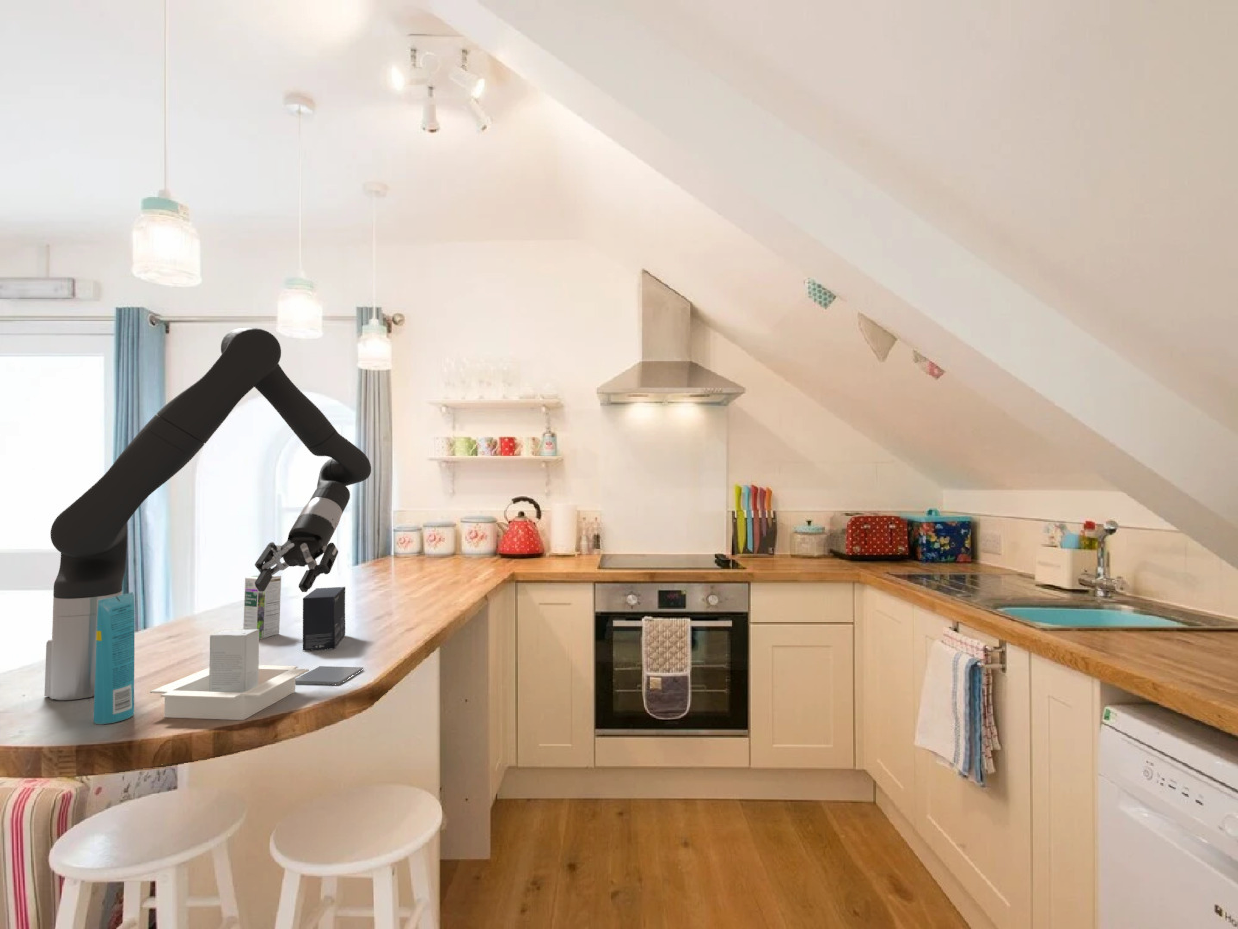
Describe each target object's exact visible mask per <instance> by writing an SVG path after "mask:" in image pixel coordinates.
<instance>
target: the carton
mask: <svg viewBox="0 0 1238 929" xmlns="http://www.w3.org/2000/svg"><path fill="white" fill-rule="evenodd" d="M209 669H210V667H207V668H205V669H203V670H200V671H197V672H195V673H192V674H190V675H187V676H185V677H182V678H180V679H177V680H175V681H172V682H170V683H166V684H164V685H162V686H159V687H158V688H157V687H156V688H154V689H152V690H150V692H149V693H150V694H160V698H164V708H163V709H164V711H163V712H164V716H163V717H164V718H175V719H179V718H180V719H204V720H205V719H206V720H208V719H209V720H230V721H231V720H232V721H233V720H235V721H236V720H237V721H245V720H246V719H248V718H251V716H253V715H256V714H257V713H258V712H260V711H262V710H264V709H266V708H268V707H269V706H272V705H273V704H276V703H277V702H279V701H281V700H282V699H284V698H286V697H288V696H289V695H292V694H293V693H295V692H296V684H295V679H296V678H298V677H300V676H302V675H304V674H306V673H308V672H310V669H309V668H298V665H272V664H271V665H267V664H265V665H263V664H259V676H258V686H256V687H254V688H252V689H250V690H248V691H246V692H243V693H237V692H209Z"/></svg>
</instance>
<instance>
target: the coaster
mask: <svg viewBox="0 0 1238 929" xmlns="http://www.w3.org/2000/svg"><path fill="white" fill-rule="evenodd" d="M362 669H363V670H364V666H362V667H361V666H359V667H358V666H331V665H330V666H329V665H328V666H326V665H319V666H317V667H316V668H314V669H312V670H309V671H308V672H306V673H304V674H302V675H300V676H298V677H296V678H295V685H314V684H323V685H322V686H326V685H325V684H328V685H327V686H330V685H329V684H333V685H332V686H340V685H341V684H340V683H342V682H343V681H345V680H347V679H348V678H349V677H351V676H352V675H355V674H356V673H358V672H359V671H361V670H362ZM361 672H362V671H361ZM358 674H359V673H358ZM356 675H357V674H356ZM356 675H355V676H356ZM351 678H352V677H351ZM348 680H349V679H348ZM348 680H347V681H348ZM345 682H346V681H345ZM343 683H344V682H343ZM343 683H342V684H343ZM335 684H336V685H335ZM339 684H340V685H339Z"/></svg>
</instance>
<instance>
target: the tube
mask: <svg viewBox="0 0 1238 929" xmlns="http://www.w3.org/2000/svg"><path fill="white" fill-rule="evenodd" d="M135 631H136V630H135V598H134V593H133V592H132V591H131V592H127V593H124V594H122V595H120V596H116V597H111V598H106V599H102V600H98V614H97V632H96V668H95V696H94V699H93V700H94V701H93V702H94V703H93V723H94V724H95V725H108V724H109V725H110V724H114V723H118V722H121V721H124V720H127V719H130V718H132V717H133V716H134V714H135Z"/></svg>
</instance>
